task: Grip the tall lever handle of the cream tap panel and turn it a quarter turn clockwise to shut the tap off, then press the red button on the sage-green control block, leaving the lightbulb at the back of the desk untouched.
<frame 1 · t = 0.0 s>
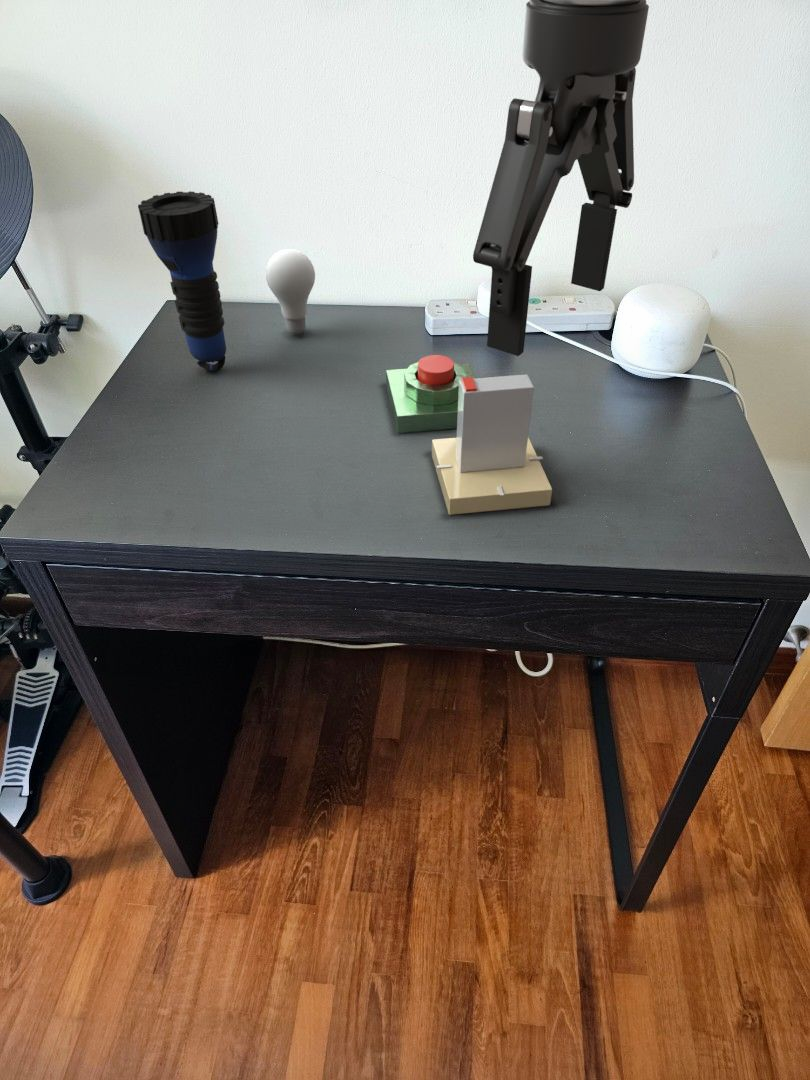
hand: (548, 316, 63), 20 cm above the table, tool pointing down, fingers open, 13 cm apart
tap panel: (488, 479, 80), on the table
flashlight: (209, 372, 97), on the table
tap handle: (493, 423, 75), point 7 cm above the table, hinge at 90.0°
stop button: (435, 370, 87), point 4 cm above the table, slide at 0.1 cm
lightbulb: (296, 335, 104), on the table
control block: (435, 405, 90), on the table
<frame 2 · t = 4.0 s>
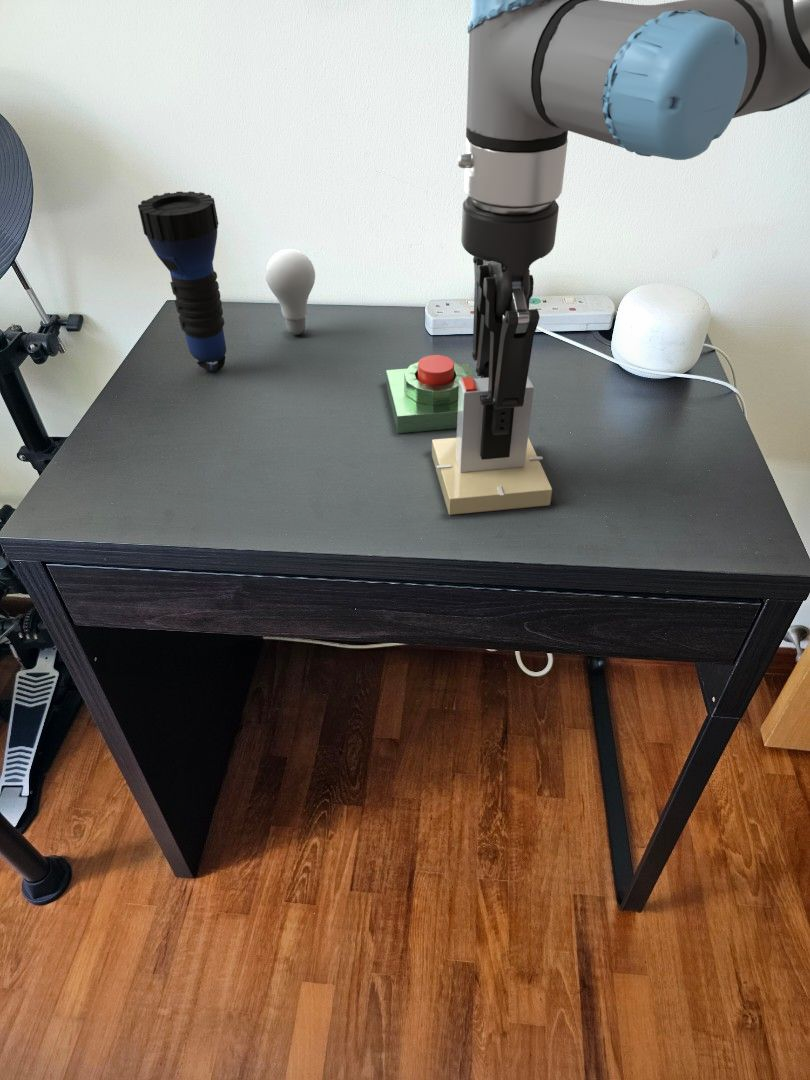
hand: (491, 446, 77), 4 cm above the table, tool pointing down, fingers closed on tap handle, 2 cm apart
tap handle: (493, 423, 75), point 7 cm above the table, hinge at 90.0°, touching gripper
everything else where it was.
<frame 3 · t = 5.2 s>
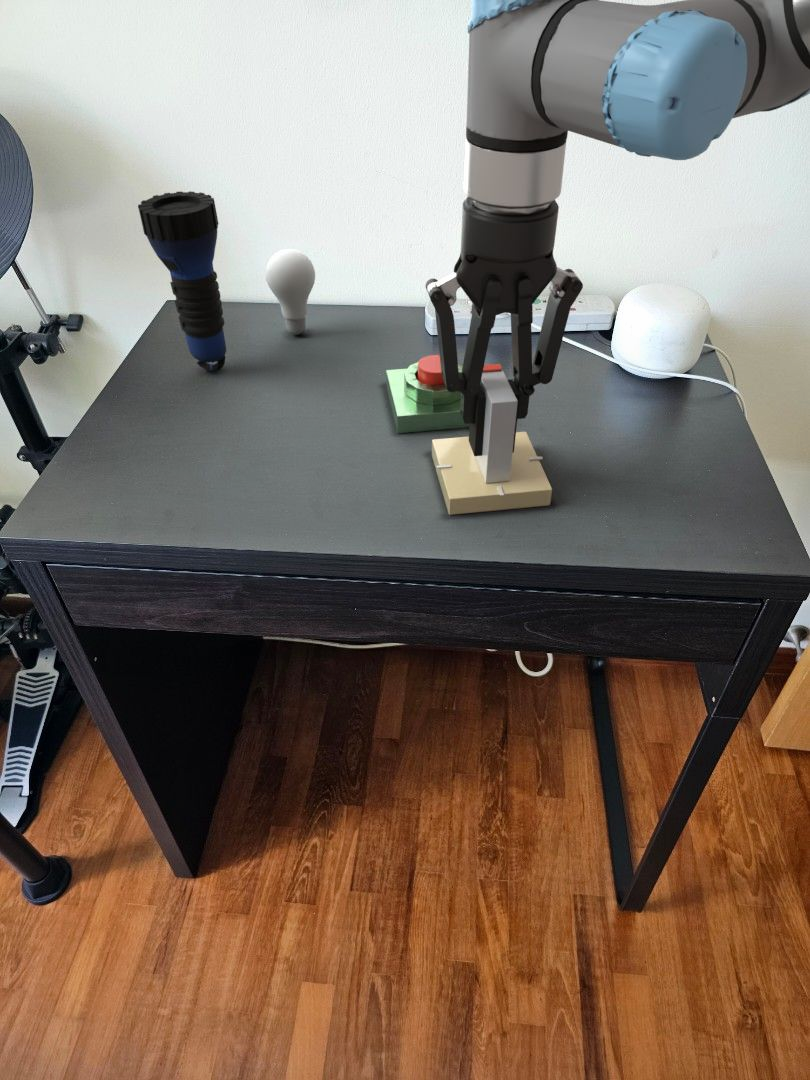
hand: (491, 446, 77), 4 cm above the table, tool pointing down, fingers closed on tap handle, 2 cm apart
tap handle: (493, 423, 75), point 7 cm above the table, hinge at 0.5°, touching gripper
everything else where it was.
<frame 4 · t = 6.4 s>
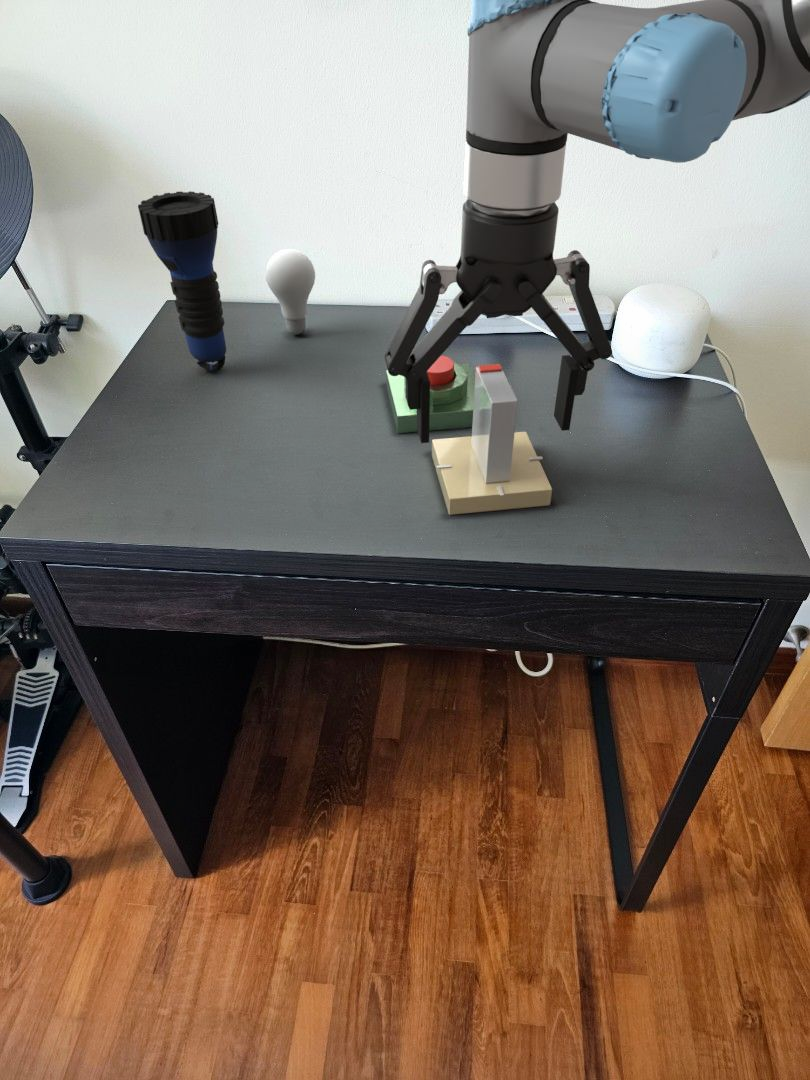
hand: (492, 429, 76), 6 cm above the table, tool pointing down, fingers open, 13 cm apart
tap handle: (493, 423, 75), point 7 cm above the table, hinge at 0.7°
everything else where it was.
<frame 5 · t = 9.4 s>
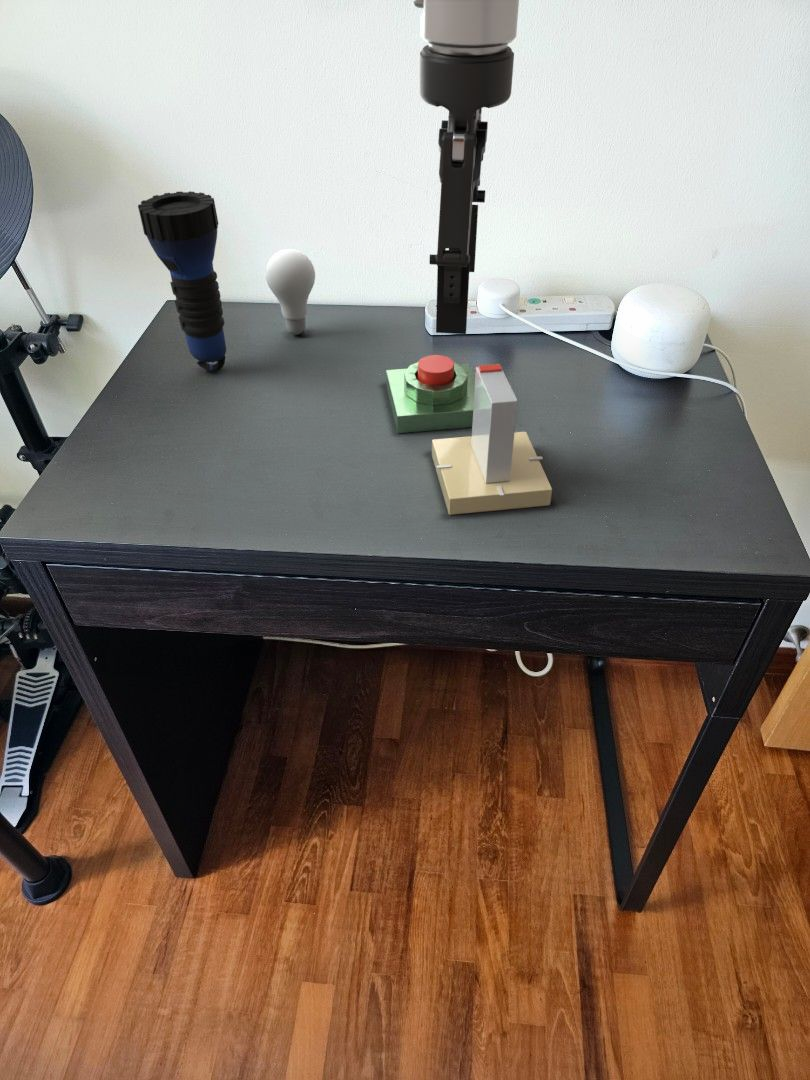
hand: (456, 299, 77), 15 cm above the table, tool pointing down, fingers open, 13 cm apart
nothing on the table moved.
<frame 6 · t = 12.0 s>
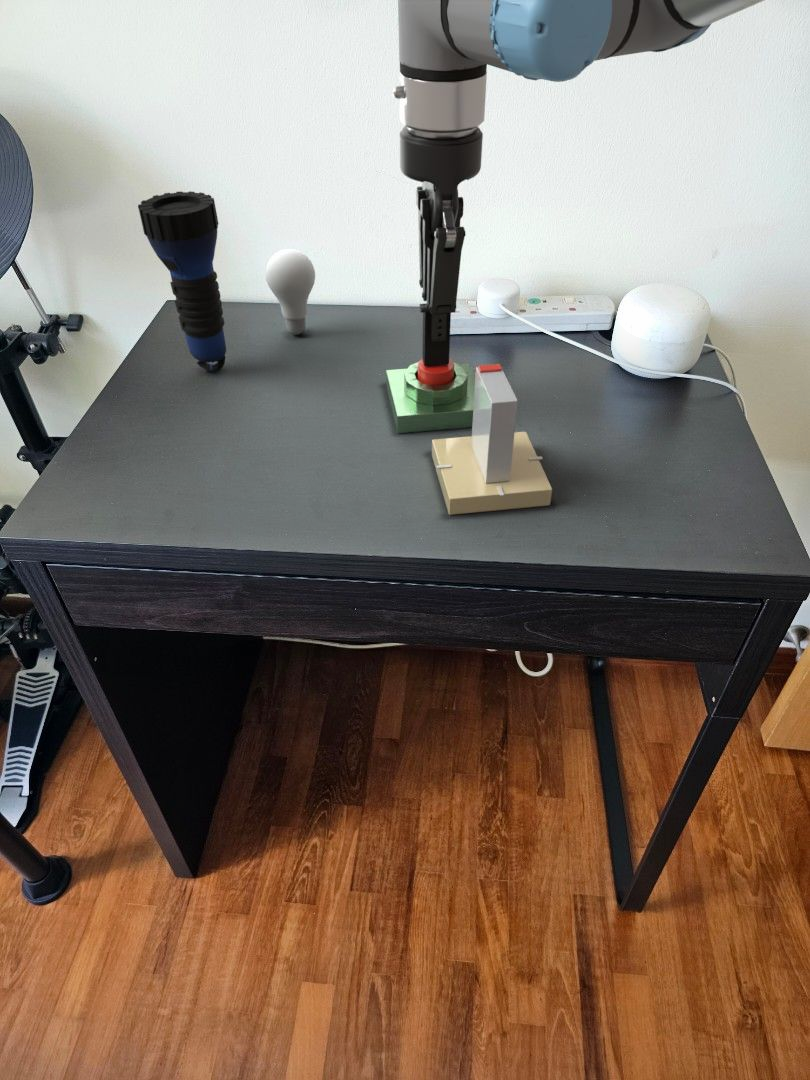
hand: (435, 361, 87), 6 cm above the table, tool pointing down, fingers closed
stop button: (435, 371, 87), point 4 cm above the table, slide at 0.0 cm, touching gripper
everything else where it was.
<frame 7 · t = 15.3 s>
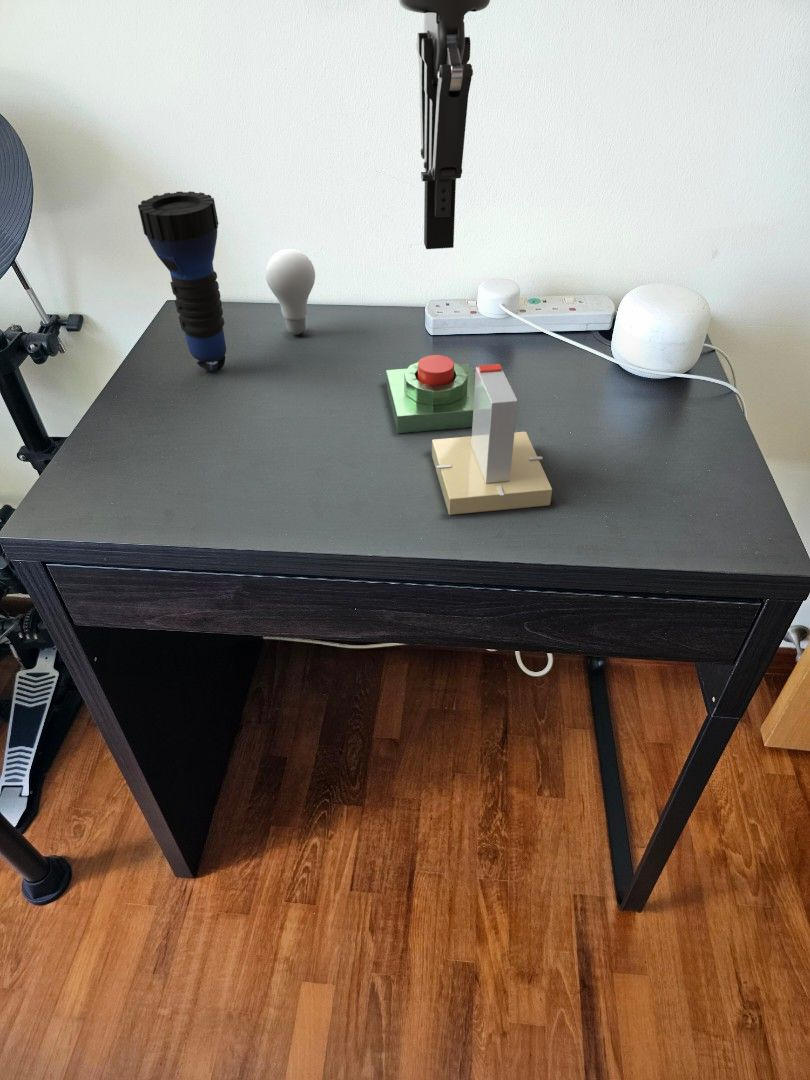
hand: (438, 245, 78), 18 cm above the table, tool pointing down, fingers closed
stop button: (435, 370, 87), point 4 cm above the table, slide at 0.1 cm
everything else where it was.
at the end: tap handle at +1° (first picture: +90°); stop button pushed in 1.0 cm at the most during the clip, back to where it started at the end; lightbulb moved 0.2 cm from its start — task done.
